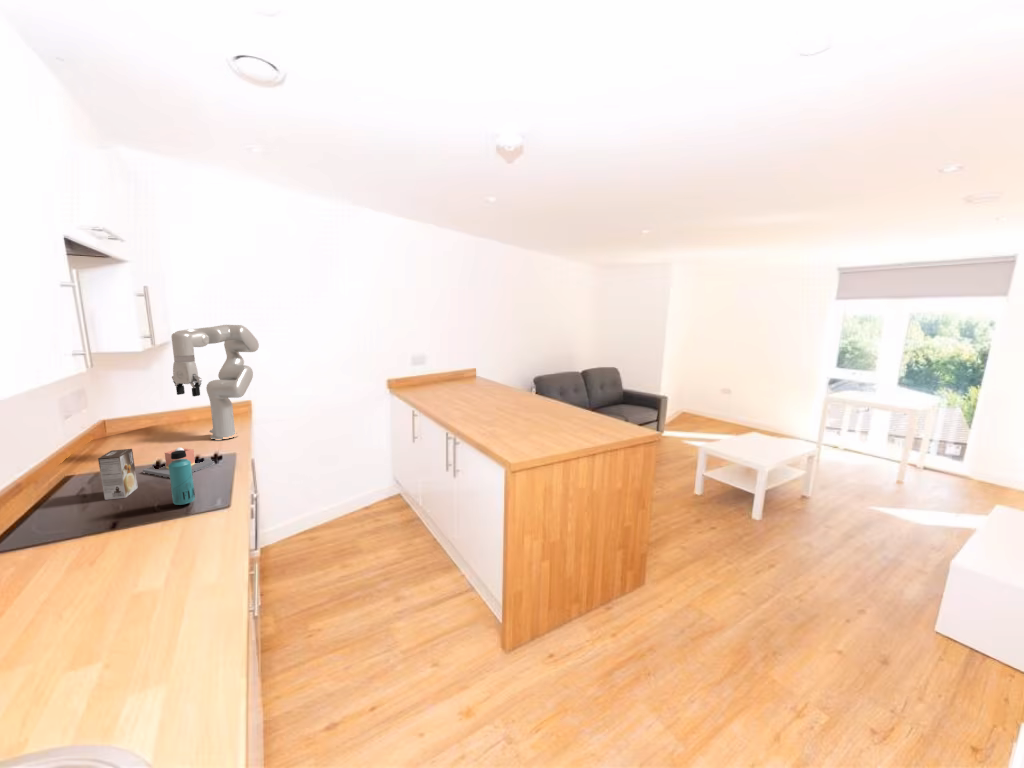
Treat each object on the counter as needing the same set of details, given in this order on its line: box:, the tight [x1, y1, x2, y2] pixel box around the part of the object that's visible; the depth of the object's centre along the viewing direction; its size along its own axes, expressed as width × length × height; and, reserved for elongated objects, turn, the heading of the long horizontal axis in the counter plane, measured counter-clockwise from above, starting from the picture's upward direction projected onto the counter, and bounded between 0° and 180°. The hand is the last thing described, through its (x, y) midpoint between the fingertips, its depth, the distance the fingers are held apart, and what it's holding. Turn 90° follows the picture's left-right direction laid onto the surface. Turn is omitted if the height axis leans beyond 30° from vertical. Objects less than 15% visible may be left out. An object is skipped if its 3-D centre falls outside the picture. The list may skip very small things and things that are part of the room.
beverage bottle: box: [168, 450, 196, 506], centre depth 143 cm, size 6×7×20 cm
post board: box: [142, 447, 214, 479], centre depth 176 cm, size 18×18×9 cm
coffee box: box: [97, 448, 139, 501], centre depth 150 cm, size 9×6×16 cm
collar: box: [164, 447, 195, 466], centre depth 176 cm, size 7×7×6 cm
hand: (188, 395), depth 192 cm, fingers open, 9 cm apart
